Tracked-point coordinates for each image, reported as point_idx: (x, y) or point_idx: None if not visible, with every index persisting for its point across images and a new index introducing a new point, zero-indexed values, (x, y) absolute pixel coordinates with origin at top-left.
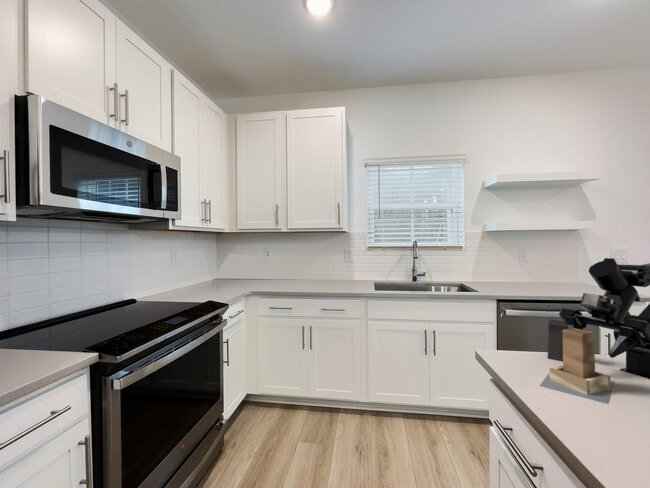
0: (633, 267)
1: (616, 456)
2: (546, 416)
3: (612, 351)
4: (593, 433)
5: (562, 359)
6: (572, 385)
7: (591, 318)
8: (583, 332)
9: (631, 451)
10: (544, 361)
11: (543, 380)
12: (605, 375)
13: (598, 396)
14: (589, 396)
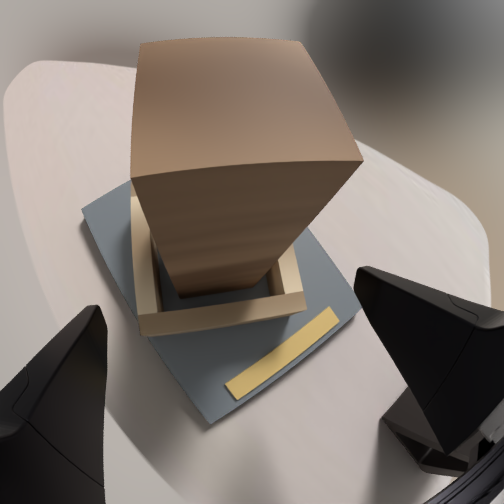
0: None
1: (26, 95)
2: (127, 76)
3: (77, 318)
4: (58, 105)
5: (414, 398)
6: None
7: (494, 495)
8: (176, 81)
9: (15, 120)
10: None
11: None
12: (152, 322)
13: (119, 229)
14: (128, 201)
